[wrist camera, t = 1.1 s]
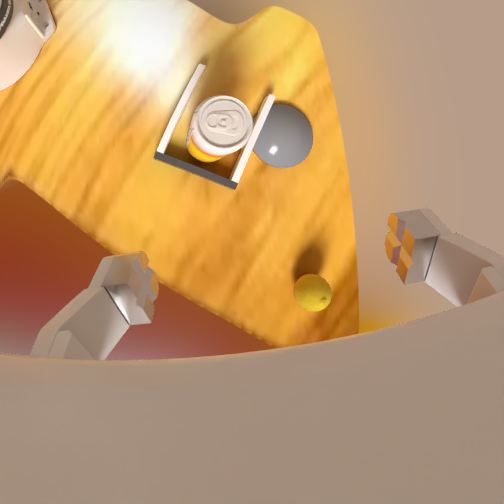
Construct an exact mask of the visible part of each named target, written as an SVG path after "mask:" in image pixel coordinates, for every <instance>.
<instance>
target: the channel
mask: <svg viewBox="0 0 504 504" xmlns="http://www.w3.org/2000/svg"><path fill="white" fill-rule="evenodd" d="M205 67H206V66H205V65H203V64H200V63H199V65H198V67H197V69H196V71H195V72H194V74H193V76H192V78H191V80H190V82H189V84H188V85H187V87H186V89H185V91H184V93H183V95H182V97H181V99H180V101H179V103H178V105H177V107H176V109H175V111H174V113H173V115H172V117H171V119H170V122H169V124H168V126H167V128H166V130H165V132H164V135H163V137H162V139H161V141H160V144H159V146H158V148H157V151H156V153H155V155H154V159H155V160H158V161H161V162H163V163H166V164H169V165H171V166H174V167H177V168H179V169H182V170H185V171H187V172H190V173H192V174H195V175H197V176H200V177H203V178H205V179H208V180H210V181H213V182H215V183H218V184H220V185H223V186H225V187H228V188H230V189H234V190H235V189H236V187H237V184H238V182H239V179H240V177H241V175H242V172H243V170H244V168H245V165H246V163H247V161H248V158H249V156H250V154H251V151H252V149H253V147H254V144H255V142H256V140H257V138H258V135H259V133H260V131H261V129H262V126H263V124H264V122H265V120H266V117H267V115H268V113H269V111H270V108H271V106H272V104H273V102H274V100H275V98H276V97H275V96H273V95H271V94H269V95H268V96H266V97H265V98H264V100H263V102H262V105H261V107H260V109H259V111H258V115H257V118H256V120H255V122H254V124H253V132H252V135H251V137H250V139H249V140H248V142H247V143H246V144H245V145H244V146H243V147H242V149H241V151H240V154H239V156H238V158H237V161H236V163H235V165H234V168H233V170H232V172H231V175H230V177H229V179H227V178H225V177H222V176H220V175H217V174H215V173H212V172H210V171H207V170H205V169H202V168H200V167H197V166H195V165H192V164H190V163H187V162H184V161H182V160H179V159H176V158H174V157H171V156H169V155H166V154H165V151H166V149H167V147H168V145H169V142H170V140H171V138H172V136H173V133H174V131H175V129H176V127H177V125H178V122H179V120H180V118H181V116H182V114H183V112H184V110H185V108H186V106H187V104H188V102H189V100H190V98H191V96H192V94H193V92H194V90H195V88H196V86H197V84H198V82H199V80H200V79H201V77H202V75H203V73H204V71H205Z"/></svg>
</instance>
